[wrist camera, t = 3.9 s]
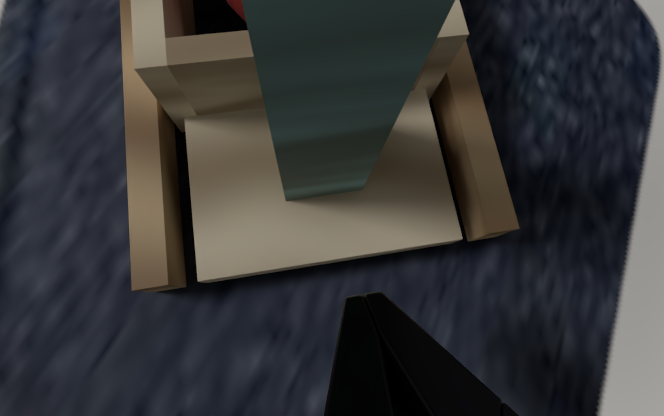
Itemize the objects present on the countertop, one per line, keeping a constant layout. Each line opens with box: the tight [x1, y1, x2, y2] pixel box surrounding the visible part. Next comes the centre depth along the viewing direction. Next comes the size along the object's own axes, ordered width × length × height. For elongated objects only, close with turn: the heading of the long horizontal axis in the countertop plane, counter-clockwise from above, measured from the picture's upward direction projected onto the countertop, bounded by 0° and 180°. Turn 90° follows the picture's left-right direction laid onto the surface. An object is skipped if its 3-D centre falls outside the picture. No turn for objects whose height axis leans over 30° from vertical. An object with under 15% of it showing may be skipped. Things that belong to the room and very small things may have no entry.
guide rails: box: [120, 0, 520, 292], centre depth 17 cm, size 24×14×2 cm, turn 9°
